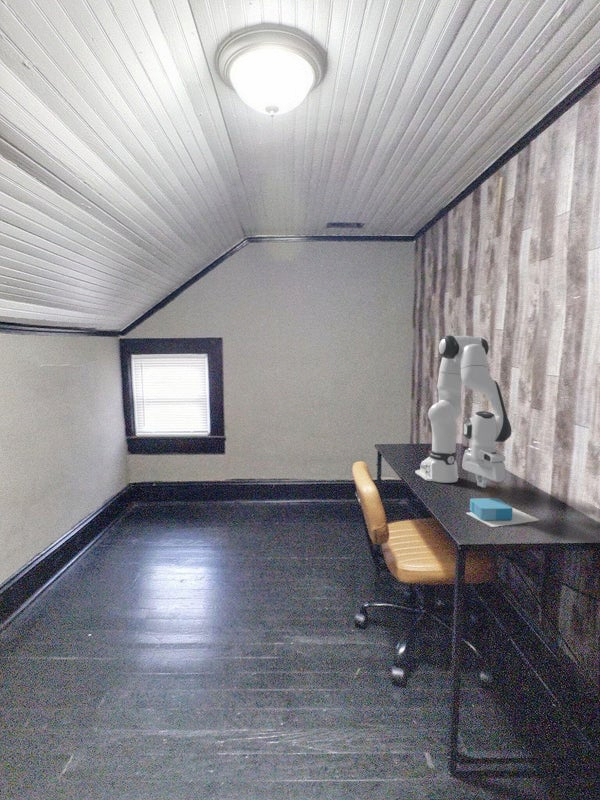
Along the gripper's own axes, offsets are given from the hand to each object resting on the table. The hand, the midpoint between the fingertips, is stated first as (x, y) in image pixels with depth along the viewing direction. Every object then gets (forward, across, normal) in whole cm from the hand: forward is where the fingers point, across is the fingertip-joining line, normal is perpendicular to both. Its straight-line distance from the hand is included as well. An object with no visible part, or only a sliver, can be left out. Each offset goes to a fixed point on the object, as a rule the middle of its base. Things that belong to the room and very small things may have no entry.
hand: (481, 486), depth 171 cm
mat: (+9, +10, +1) cm, 14 cm away
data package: (+6, +2, -1) cm, 7 cm away
